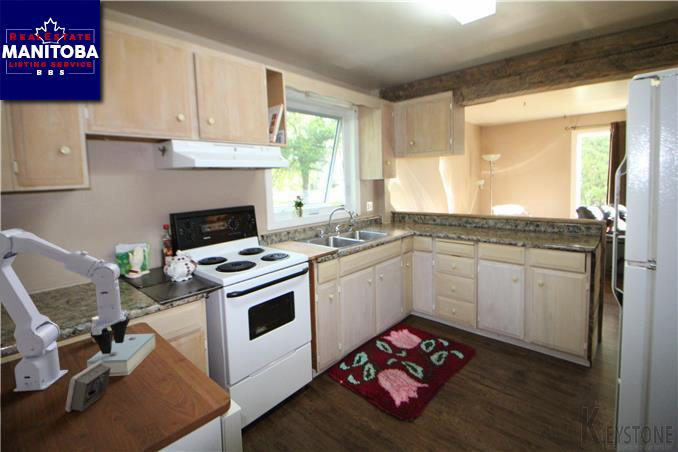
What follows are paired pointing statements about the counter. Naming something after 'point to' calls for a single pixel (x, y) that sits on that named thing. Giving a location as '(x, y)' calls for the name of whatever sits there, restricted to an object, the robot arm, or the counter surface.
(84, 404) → the electrical switch
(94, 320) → the pill bottle
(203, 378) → the counter surface
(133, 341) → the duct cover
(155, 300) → the counter surface
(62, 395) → the counter surface
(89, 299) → the counter surface
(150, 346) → the base
